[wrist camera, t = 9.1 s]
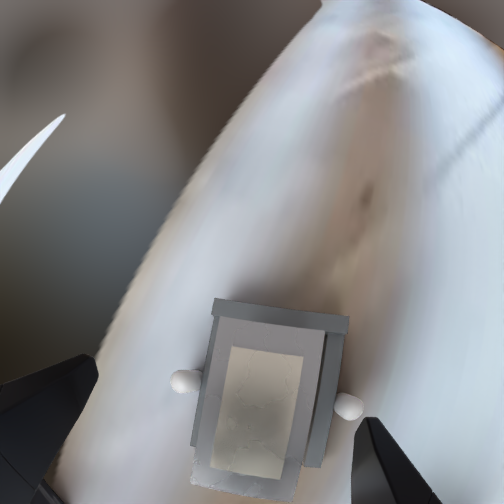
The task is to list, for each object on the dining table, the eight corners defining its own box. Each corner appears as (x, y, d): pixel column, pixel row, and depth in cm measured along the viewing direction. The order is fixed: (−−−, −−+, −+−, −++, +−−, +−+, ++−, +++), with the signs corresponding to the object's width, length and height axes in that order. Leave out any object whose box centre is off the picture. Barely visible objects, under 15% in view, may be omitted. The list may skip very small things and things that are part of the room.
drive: (288, 447, 18) (292, 503, 9) (229, 437, 19) (189, 483, 10) (306, 347, 21) (325, 330, 12) (247, 338, 22) (219, 315, 12)
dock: (338, 462, 17) (347, 477, 14) (176, 435, 19) (159, 445, 16) (362, 323, 21) (375, 315, 18) (202, 302, 23) (189, 290, 20)
